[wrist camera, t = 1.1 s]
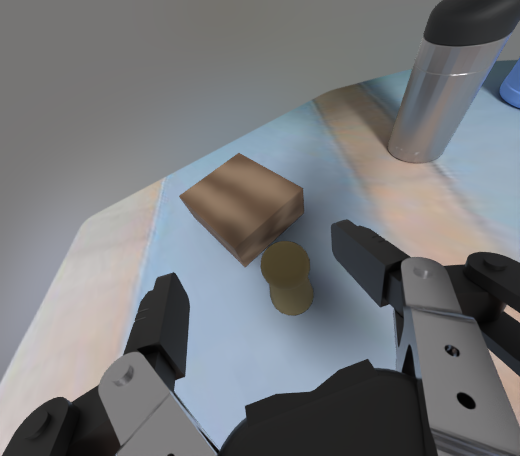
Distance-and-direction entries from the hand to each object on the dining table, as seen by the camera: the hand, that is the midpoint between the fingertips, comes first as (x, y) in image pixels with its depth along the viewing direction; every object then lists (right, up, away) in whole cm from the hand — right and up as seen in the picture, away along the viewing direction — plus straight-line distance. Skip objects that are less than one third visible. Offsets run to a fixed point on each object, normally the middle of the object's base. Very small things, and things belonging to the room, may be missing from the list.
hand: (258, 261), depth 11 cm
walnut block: (-3, +4, +29) cm, 30 cm away
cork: (+5, -8, +20) cm, 22 cm away
